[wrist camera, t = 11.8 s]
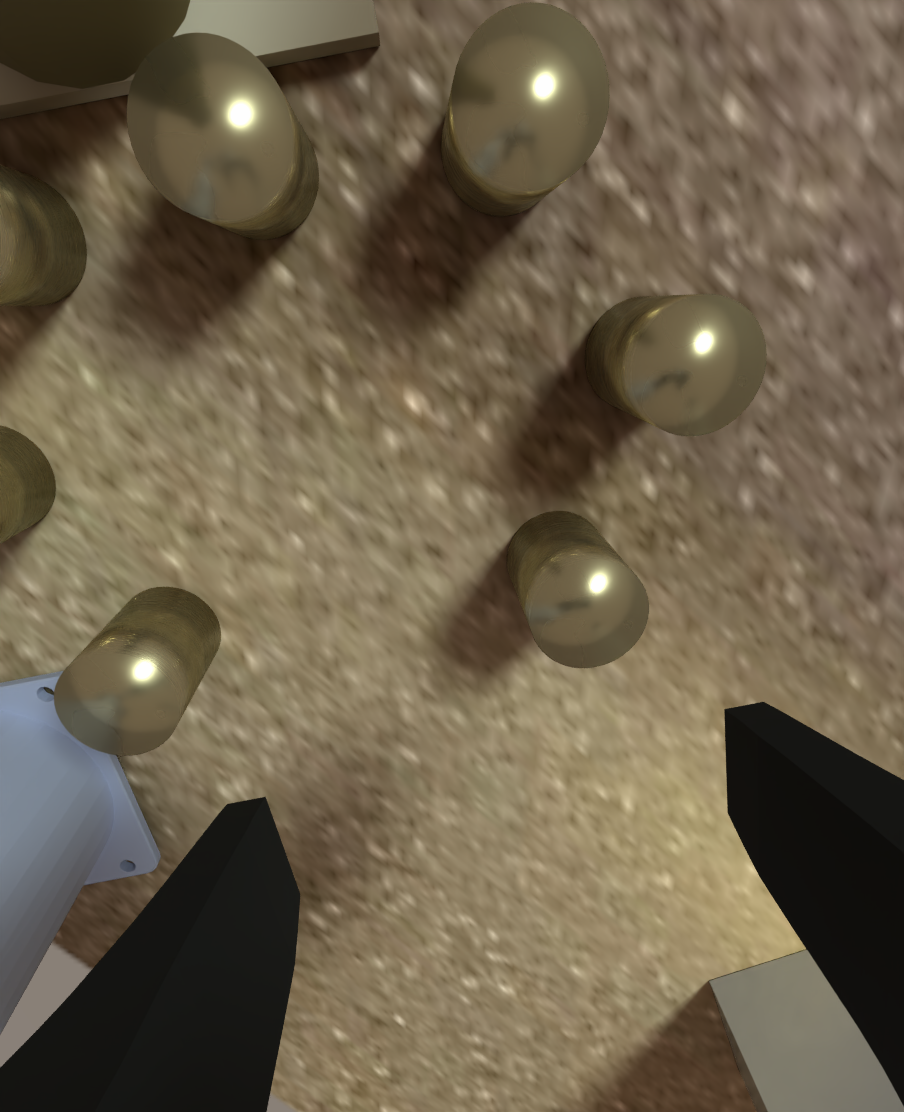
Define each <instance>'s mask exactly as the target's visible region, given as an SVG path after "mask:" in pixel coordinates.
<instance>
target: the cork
mask: <svg viewBox="0 0 904 1112" xmlns="http://www.w3.org/2000/svg"><path fill="white" fill-rule="evenodd" d="M189 3H190V0H0V63H2V64H4V65H5V66H7V67H9V68H11V69H13V70H15V71H17V72H19V73H21V74H23V75H25V76H27V77H29V78H31V79H33V80H35V81H37V82H43V83H49V84H55V85H61V86H67V87H73V88H79V89H85V88H89V87H94V86H99V85H104V84H109V83H114V82H119V81H123V80H125V79H127V78H128V77H130V76H131V75H133V74H134V73H136V71H137V69H138V67H139V66H140V64H141V63H142V61H143V60H144V59H145V57H146V56H147V55H148V54H149V53H150V52H151V51H152V50H153V49H154V48H155V47H157V46H158V45H159V44H161V43H162V42H164V41H166V40H168V39H170V38H172V37H173V36H174V34H175V33H176V31H177V30H178V29H179V27H180V26H181V24H182V23H183V21H184V20H185V18H186V14H187V11H188V7H189Z"/></svg>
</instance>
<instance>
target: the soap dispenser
mask: <svg viewBox="0 0 904 1112" xmlns="http://www.w3.org/2000/svg"><path fill="white" fill-rule="evenodd" d="M709 982H710V985H711V988H712V991H713V994H714V997H715V1000H716V1003H717V1006H718V1009H719V1012H720V1015H721V1018H722V1021H723V1024H724V1027H725V1030H726V1033H727V1036H728V1039H729V1042H730V1045H731V1048H732V1051H733V1054H734V1057H735V1060H736V1063H737V1066H738V1069H739V1072H740V1074H741V1076H742V1079H743V1081H744V1083H745V1086H746V1088H747V1090H748V1093H749V1095H750V1097H751V1099H752V1102H753V1104H754V1106H755V1109H756V1111H757V1112H904V1106H903V1104H902V1102H901V1101H900V1099H899V1097H898V1095H897V1093H896V1091H895V1090H894V1088H893V1086H892V1084H891V1082H890V1080H889V1079H888V1077H887V1075H886V1073H885V1071H884V1069H883V1068H882V1066H881V1064H880V1063H879V1061H878V1059H877V1058H876V1056H875V1054H874V1053H873V1051H872V1049H871V1048H870V1046H869V1045H868V1043H867V1041H866V1040H865V1038H864V1036H863V1035H862V1033H861V1031H860V1030H859V1028H858V1027H857V1025H856V1024H855V1022H854V1021H853V1019H852V1017H851V1016H850V1014H849V1013H848V1011H847V1010H846V1008H845V1007H844V1005H843V1004H842V1002H841V1001H840V999H839V998H838V996H837V995H836V993H835V992H834V990H833V989H832V987H831V985H830V984H829V982H828V981H827V979H826V978H825V976H824V975H823V973H822V972H821V970H820V969H819V967H818V966H817V964H816V963H815V961H814V960H813V958H812V957H811V955H810V953H809V952H808V950H804V951H801V952H798V953H795V954H792V955H789V956H786V957H782V958H779V959H776V960H773V961H770V962H767V963H764V964H761V965H757V966H754V967H751V968H748V969H745V970H742V971H739V972H736V973H732V974H729V975H726V976H723V977H720V978H717V979H714V980H711V981H709Z"/></svg>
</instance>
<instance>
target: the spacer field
mask: <svg viewBox="0 0 904 1112" xmlns="http://www.w3.org/2000/svg"><path fill="white" fill-rule="evenodd" d="M608 108H609V81H608V73H607V69H606V65H605V61H604V59H603V56H602V53H601V51H600V49H599V47H598V45H597V43H596V41H595V39H594V38H593V37H592V35H591V34H590V32H589V31H588V30H587V29H586V28H585V26H584V25H583V24H582V23H581V22H580V21H578V20H577V19H576V18H575V17H574V16H572V15H571V14H569V13H567V12H566V11H564V10H562V9H560V8H557V7H555V6H552V5H548V4H543V3H522V4H517V5H514V6H510V7H508V8H505V9H503V10H501V11H499V12H497V13H496V14H494V15H493V16H491V17H490V18H488V19H487V20H486V21H485V22H484V23H483V24H482V25H481V26H480V27H479V28H478V29H477V30H476V31H475V32H474V34H473V35H472V36H471V38H470V39H469V41H468V42H467V44H466V46H465V48H464V50H463V52H462V54H461V56H460V58H459V61H458V64H457V67H456V71H455V75H454V79H453V84H452V88H451V93H450V98H449V103H448V107H447V112H446V117H445V122H444V127H443V131H442V139H441V155H442V162H443V167H444V170H445V173H446V176H447V178H448V181H449V183H450V185H451V186H452V188H453V189H454V191H455V192H456V194H457V195H458V196H459V197H460V198H461V199H462V200H463V201H464V202H465V203H466V204H467V205H469V206H470V207H471V208H473V209H475V210H477V211H479V212H481V213H484V214H487V215H491V216H502V217H503V216H511V215H515V214H519V213H521V212H523V211H526V210H527V209H529V208H531V207H532V206H534V205H535V204H536V203H537V202H539V201H540V200H541V199H542V198H544V197H545V196H546V195H548V194H549V193H550V192H551V191H553V190H554V189H555V188H556V187H558V186H559V185H560V184H561V183H563V182H564V181H565V180H567V179H568V178H569V177H570V176H572V175H573V174H574V173H575V172H577V171H578V170H579V169H580V168H581V167H582V166H583V165H584V164H585V162H586V161H587V160H588V158H589V157H590V156H591V154H592V153H593V151H594V149H595V148H596V146H597V144H598V142H599V140H600V138H601V135H602V133H603V130H604V127H605V123H606V119H607V114H608ZM127 125H128V133H129V137H130V141H131V145H132V148H133V151H134V153H135V156H136V159H137V161H138V163H139V165H140V167H141V169H142V170H143V172H144V173H145V175H146V177H147V178H148V180H149V181H150V182H151V183H152V185H153V186H154V187H155V188H156V189H157V190H158V191H159V192H160V193H161V194H162V195H163V196H164V197H165V198H166V199H167V200H168V201H170V202H171V203H172V204H174V205H175V206H177V207H178V208H180V209H182V210H183V211H185V212H188V213H190V214H192V215H194V216H196V217H199V218H201V219H204V220H206V221H208V222H211V223H213V224H215V225H218V226H220V227H222V228H225V229H227V230H229V231H232V232H234V233H236V234H239V235H241V236H244V237H247V238H251V239H257V240H268V239H275V238H279V237H282V236H284V235H286V234H288V233H290V232H292V231H293V230H295V229H296V228H297V227H298V226H299V225H301V223H302V222H303V221H304V220H305V219H306V217H307V216H308V214H309V213H310V211H311V209H312V207H313V205H314V202H315V199H316V196H317V191H318V184H319V170H318V163H317V158H316V155H315V151H314V149H313V146H312V144H311V141H310V140H309V138H308V136H307V134H306V132H305V131H304V129H303V127H302V125H301V124H300V122H299V120H298V118H297V117H296V115H295V113H294V111H293V110H292V108H291V106H290V105H289V103H288V101H287V99H286V98H285V96H284V94H283V92H282V91H281V89H280V87H279V85H278V84H277V82H276V80H275V79H274V77H273V76H272V75H271V73H270V72H269V70H268V69H267V68H266V67H265V66H264V64H263V63H262V62H261V61H260V60H259V59H258V58H257V57H256V56H255V55H253V54H252V53H251V52H250V51H249V50H247V49H246V48H244V47H243V46H241V45H240V44H238V43H236V42H234V41H232V40H230V39H228V38H225V37H222V36H219V35H215V34H210V33H198V32H195V33H186V34H181V35H178V36H174V37H172V38H170V39H168V40H166V41H164V42H162V43H161V44H159V45H158V46H157V47H155V48H154V49H153V50H152V51H151V52H150V53H149V54H148V55H147V56H146V57H145V59H144V60H143V61H142V63H141V64H140V66H139V67H138V69H137V71H136V73H135V75H134V78H133V80H132V83H131V86H130V90H129V95H128V102H127ZM86 258H87V249H86V241H85V236H84V233H83V229H82V227H81V224H80V222H79V220H78V218H77V216H76V214H75V212H74V211H73V209H72V208H71V207H70V205H69V204H68V203H67V201H66V200H65V199H64V198H63V197H62V196H61V195H60V194H59V193H58V192H57V191H56V190H55V189H53V188H52V187H51V186H49V185H48V184H46V183H45V182H43V181H41V180H40V179H38V178H35V177H33V176H31V175H28V174H25V173H22V172H19V171H16V170H14V169H11V168H8V167H5V166H2V165H0V306H43V305H49V304H53V303H56V302H58V301H60V300H62V299H64V298H65V297H67V296H68V295H69V294H70V293H71V292H72V291H73V290H74V289H75V288H76V287H77V285H78V284H79V282H80V280H81V278H82V276H83V273H84V270H85V266H86ZM766 356H767V354H766V344H765V339H764V335H763V332H762V329H761V327H760V325H759V323H758V321H757V320H756V318H755V317H754V316H753V314H752V313H751V312H750V311H749V310H748V309H747V308H746V307H745V306H743V305H742V304H740V303H739V302H737V301H735V300H733V299H731V298H728V297H725V296H722V295H716V294H695V295H670V296H645V297H634V298H631V299H627V300H625V301H622V302H620V303H618V304H616V305H615V306H613V307H612V308H611V309H609V310H608V311H607V312H606V313H605V314H604V315H603V316H602V317H601V318H600V319H599V320H598V322H597V323H596V325H595V326H594V328H593V330H592V332H591V334H590V336H589V339H588V342H587V346H586V351H585V367H586V373H587V376H588V379H589V382H590V384H591V386H592V387H593V389H594V391H595V392H596V393H597V394H598V395H599V397H601V398H602V399H603V400H604V401H605V402H607V403H608V404H610V405H612V406H614V407H616V408H618V409H620V410H622V411H625V412H627V413H629V414H631V415H633V416H635V417H637V418H639V419H641V420H643V421H645V422H647V423H649V424H652V425H654V426H656V427H658V428H660V429H662V430H664V431H666V432H668V433H672V434H675V435H680V436H699V435H704V434H708V433H711V432H714V431H717V430H719V429H721V428H723V427H724V426H726V425H728V424H729V423H731V422H732V421H734V420H735V419H736V418H737V417H738V416H739V415H741V414H742V412H743V411H744V410H745V409H746V408H747V407H748V406H749V404H750V403H751V401H752V400H753V399H754V397H755V395H756V393H757V392H758V389H759V387H760V385H761V383H762V379H763V376H764V372H765V367H766ZM55 491H56V485H55V478H54V474H53V471H52V468H51V466H50V464H49V462H48V460H47V458H46V457H45V455H44V454H43V453H42V451H41V450H40V449H39V448H38V447H37V446H36V445H35V444H34V443H33V442H32V441H31V440H29V439H28V438H27V437H25V436H24V435H22V434H21V433H19V432H17V431H15V430H13V429H10V428H7V427H5V426H1V425H0V544H1V543H3V542H4V541H6V540H8V539H9V538H11V537H13V536H15V535H16V534H18V533H20V532H21V531H23V530H25V529H26V528H28V527H30V526H32V525H33V524H35V523H37V522H38V521H40V520H41V519H42V518H43V517H44V516H45V515H46V514H47V513H48V511H49V510H50V508H51V506H52V504H53V502H54V498H55ZM507 568H508V572H509V575H510V578H511V580H512V583H513V585H514V588H515V591H516V593H517V596H518V598H519V601H520V604H521V606H522V609H523V611H524V614H525V617H526V619H527V622H528V624H529V627H530V630H531V632H532V635H533V637H534V640H535V642H536V643H537V645H538V647H539V648H540V649H541V650H542V652H544V653H545V654H546V655H547V656H548V657H549V658H551V659H552V660H554V661H556V662H558V663H560V664H563V665H565V666H569V667H574V668H592V667H597V666H601V665H605V664H607V663H610V662H612V661H614V660H616V659H618V658H619V657H621V656H622V655H624V654H625V653H626V652H628V651H629V650H630V649H631V648H632V647H633V646H634V645H635V643H636V642H637V641H638V640H639V638H640V636H641V635H642V633H643V631H644V629H645V626H646V623H647V620H648V614H649V602H648V596H647V593H646V590H645V588H644V586H643V584H642V583H641V581H640V580H639V578H638V577H637V576H636V575H635V574H634V572H633V571H632V570H631V569H630V568H629V567H628V565H627V564H626V563H625V562H624V561H623V560H622V558H621V557H620V556H619V555H618V554H617V553H616V551H615V550H614V549H613V548H612V547H611V546H610V544H609V543H608V542H607V541H606V540H605V539H604V537H603V536H602V535H601V534H600V533H599V532H598V530H597V529H596V528H595V527H594V526H593V525H592V524H591V523H590V522H589V521H588V520H587V519H585V518H583V517H582V516H580V515H577V514H575V513H571V512H565V511H553V512H547V513H544V514H541V515H538V516H536V517H534V518H532V519H531V520H529V521H528V522H526V523H525V524H524V525H523V526H522V527H521V528H520V529H519V530H518V531H517V533H516V534H515V536H514V537H513V539H512V541H511V543H510V546H509V549H508V554H507ZM220 641H221V630H220V625H219V622H218V619H217V617H216V615H215V614H214V612H213V611H212V609H211V608H210V607H209V606H208V605H207V604H206V603H205V602H204V601H203V600H202V599H200V598H199V597H197V596H196V595H194V594H192V593H190V592H188V591H185V590H182V589H178V588H173V587H156V588H151V589H148V590H145V591H143V592H141V593H139V594H137V595H136V596H134V597H133V598H132V599H131V600H130V601H129V602H128V603H127V604H126V605H125V606H124V607H123V608H122V609H121V611H120V612H119V613H118V614H117V615H116V616H115V617H114V618H113V619H112V620H111V621H110V622H109V623H108V624H107V625H106V627H105V628H104V629H103V630H102V631H101V632H100V633H99V634H98V635H97V636H96V637H95V638H94V639H93V640H92V641H91V643H90V644H89V645H88V646H87V647H86V648H85V649H84V650H83V651H82V652H81V653H80V654H79V655H78V656H77V657H76V659H75V660H74V661H73V662H72V663H71V664H70V665H69V666H68V667H67V668H66V669H65V670H64V671H63V673H62V674H61V675H60V677H59V679H58V681H57V683H56V686H55V690H54V705H55V709H56V712H57V715H58V717H59V719H60V721H61V723H62V724H63V726H64V727H65V728H66V730H67V731H68V732H69V733H70V734H71V735H72V736H73V737H75V738H76V739H77V740H78V741H80V742H81V743H83V744H84V745H86V746H88V747H90V748H92V749H95V750H97V751H100V752H103V753H107V754H112V755H122V756H126V755H137V754H142V753H146V752H148V751H151V750H153V749H155V748H157V747H159V746H160V745H161V744H163V743H164V742H165V741H166V740H167V739H168V738H169V737H170V736H171V735H172V733H173V732H174V730H175V728H176V726H177V724H178V723H179V721H180V719H181V717H182V715H183V713H184V712H185V710H186V708H187V706H188V704H189V702H190V701H191V699H192V697H193V695H194V693H195V691H196V690H197V688H198V686H199V684H200V682H201V680H202V679H203V677H204V675H205V673H206V671H207V669H208V668H209V666H210V664H211V662H212V660H213V658H214V657H215V655H216V653H217V651H218V649H219V646H220Z"/></svg>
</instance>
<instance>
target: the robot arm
mask: <svg viewBox="0 0 904 1112" xmlns="http://www.w3.org/2000/svg"><path fill="white" fill-rule="evenodd" d="M62 673H63V671H60V672H55V673H50V674H45V675H39V676H34V677H29V678H24V679H18V680H13V681H8V682H3V683H0V1034H1V1032H2V1031H3V1029H4V1027H5V1025H6V1023H7V1022H8V1020H9V1018H10V1016H11V1014H12V1013H13V1011H14V1009H15V1007H16V1006H17V1004H18V1002H19V1000H20V998H21V997H22V995H23V993H24V991H25V989H26V988H27V986H28V984H29V982H30V980H31V979H32V977H33V975H34V973H35V971H36V970H37V968H38V966H39V964H40V962H41V961H42V959H43V957H44V955H45V953H46V952H47V949H48V948H49V946H50V945H51V943H52V941H53V939H54V937H55V936H56V934H57V932H58V930H59V928H60V927H61V925H62V923H63V921H64V919H65V918H66V916H67V914H68V912H69V910H70V909H71V907H72V905H73V903H74V901H75V900H76V898H77V896H78V894H79V892H80V891H81V889H82V887H83V885H88V884H93V883H98V882H104V881H109V880H114V879H119V878H125V877H130V876H135V875H140V874H146V873H149V872H152V871H153V870H155V869H156V867H157V865H158V863H159V860H160V858H161V856H160V852H159V850H158V848H157V845H156V843H155V841H154V839H153V836H152V834H151V832H150V830H149V827H148V825H147V823H146V821H145V819H144V816H143V814H142V812H141V810H140V807H139V805H138V803H137V801H136V798H135V796H134V794H133V792H132V789H131V787H130V785H129V783H128V781H127V778H126V776H125V774H124V772H123V769H122V767H121V765H120V763H119V760H118V758H117V756H116V755H112V754H107V753H103V752H100V751H97V750H95V749H92V748H90V747H88V746H86V745H84V744H83V743H81V742H80V741H78V740H77V739H76V738H75V737H73V736H72V735H71V734H70V733H69V732H68V731H67V730H66V728H65V727H64V726H63V724H62V723H61V721H60V719H59V717H58V715H57V712H56V709H55V705H54V695H52V694H49V693H47V692H46V691H45V690H44V687H48V688H50V689H52V690H53V692H54V690H55V686H56V683H57V681H58V679H59V677H60V675H61V674H62ZM724 710H725V741H726V773H727V804H728V814H729V816H730V818H731V820H732V823H733V825H734V827H735V829H736V831H737V833H738V835H739V837H740V839H741V841H742V843H743V845H744V847H745V849H746V851H747V853H748V855H749V857H750V859H751V861H752V863H753V865H754V867H755V869H756V871H757V872H758V874H759V876H760V878H761V879H762V881H763V883H764V884H765V886H766V887H767V889H768V890H769V892H770V894H771V895H772V897H773V898H774V900H775V901H776V903H777V904H778V906H779V907H780V909H781V911H782V912H783V914H784V915H785V917H786V918H787V920H788V921H789V923H790V924H791V926H792V928H793V929H794V931H795V932H796V934H797V935H798V937H799V938H800V940H801V941H802V943H803V944H804V946H805V947H806V949H807V950H808V952H809V953H810V955H811V957H812V958H813V960H814V961H815V963H816V964H817V966H818V967H819V969H820V970H821V972H822V973H823V975H824V976H825V978H826V979H827V981H828V982H829V984H830V985H831V987H832V989H833V990H834V992H835V993H836V995H837V996H838V998H839V999H840V1001H841V1002H842V1004H843V1005H844V1007H845V1008H846V1010H847V1011H848V1013H849V1014H850V1016H851V1017H852V1019H853V1021H854V1022H855V1024H856V1025H857V1027H858V1028H859V1030H860V1031H861V1033H862V1035H863V1036H864V1038H865V1040H866V1041H867V1043H868V1045H869V1046H870V1048H871V1049H872V1051H873V1053H874V1054H875V1056H876V1058H877V1059H878V1061H879V1063H880V1064H881V1066H882V1068H883V1069H884V1071H885V1073H886V1075H887V1077H888V1079H889V1080H890V1082H891V1084H892V1086H893V1088H894V1090H895V1091H896V1093H897V1095H898V1097H899V1099H900V1101H901V1102H902V1104H903V1106H904V780H903V779H901V778H899V777H897V776H895V775H893V774H891V773H890V772H888V771H886V770H884V769H882V768H880V767H879V766H877V765H875V764H873V763H871V762H870V761H868V760H866V759H864V758H862V757H861V756H859V755H857V754H855V753H853V752H852V751H850V750H848V749H846V748H845V747H843V746H841V745H839V744H838V743H836V742H834V741H832V740H831V739H829V738H827V737H825V736H824V735H822V734H820V733H818V732H817V731H815V730H813V729H811V728H810V727H808V726H806V725H804V724H803V723H801V722H799V721H797V720H796V719H794V718H792V717H790V716H789V715H787V714H785V713H783V712H781V711H780V710H778V709H776V708H774V707H772V706H770V705H768V704H767V703H765V702H760V703H755V704H750V705H745V706H739V707H734V708H729V709H724ZM126 860H129V861H132V862H133V863H130V862H128V861H126ZM299 905H300V892H299V889H298V887H297V884H296V881H295V878H294V875H293V873H292V870H291V867H290V864H289V861H288V859H287V856H286V853H285V850H284V847H283V845H282V842H281V839H280V836H279V833H278V831H277V828H276V825H275V822H274V819H273V816H272V814H271V811H270V808H269V805H268V802H267V800H266V797H262V798H257V799H252V800H247V801H242V802H236V803H231V804H227V805H226V806H225V807H224V809H223V810H222V811H221V812H220V813H219V814H218V816H217V817H216V818H215V819H214V821H213V822H212V823H211V824H210V826H209V827H208V828H207V830H206V831H205V832H204V833H203V835H202V836H201V837H200V839H199V840H198V841H197V842H196V844H195V845H194V846H193V848H192V849H191V850H190V851H189V853H188V854H187V855H186V857H185V858H184V859H183V860H182V862H181V863H180V864H179V865H178V867H177V868H176V869H175V871H174V872H173V873H172V874H171V876H170V877H169V878H168V879H167V881H166V882H165V883H164V884H163V886H162V887H161V888H160V889H159V891H158V892H157V893H156V894H155V896H154V897H153V898H152V899H151V901H150V902H149V903H148V904H147V906H146V907H145V908H144V909H143V911H142V912H141V913H140V914H139V916H138V917H137V918H136V919H135V920H134V922H133V923H132V924H131V925H130V926H129V928H128V929H127V930H126V931H125V932H124V933H123V935H122V936H121V937H120V938H119V939H118V940H117V941H116V943H115V944H114V945H113V946H112V947H111V948H110V950H109V951H108V952H107V953H106V954H105V955H104V956H103V958H102V959H101V960H100V961H99V962H98V963H97V965H96V966H95V967H94V968H93V969H92V970H91V972H90V973H89V974H88V975H87V976H86V977H85V979H84V980H83V981H82V982H81V983H80V984H79V985H78V987H77V988H76V989H75V990H74V991H73V992H72V993H71V995H70V996H69V997H68V998H67V999H66V1000H65V1001H64V1002H63V1003H62V1004H61V1006H60V1007H59V1008H58V1009H57V1010H56V1011H55V1012H54V1013H53V1014H52V1015H51V1016H50V1017H49V1018H48V1019H47V1020H46V1021H45V1022H44V1024H43V1025H42V1026H41V1027H40V1028H39V1029H38V1030H37V1031H36V1032H35V1033H34V1034H33V1035H32V1036H31V1037H30V1038H29V1039H28V1040H27V1041H26V1042H25V1043H24V1044H23V1045H22V1046H21V1047H20V1048H19V1049H18V1050H17V1051H16V1052H15V1053H14V1055H12V1057H10V1058H9V1060H7V1061H6V1062H5V1064H4V1065H3V1066H2V1067H1V1068H0V1112H266V1111H267V1106H268V1101H269V1096H270V1091H271V1086H272V1080H273V1075H274V1070H275V1065H276V1060H277V1055H278V1050H279V1045H280V1040H281V1035H282V1030H283V1025H284V1019H285V1014H286V1009H287V1004H288V998H289V993H290V988H291V983H292V977H293V971H294V966H295V956H296V945H297V934H298V920H299Z"/></svg>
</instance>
